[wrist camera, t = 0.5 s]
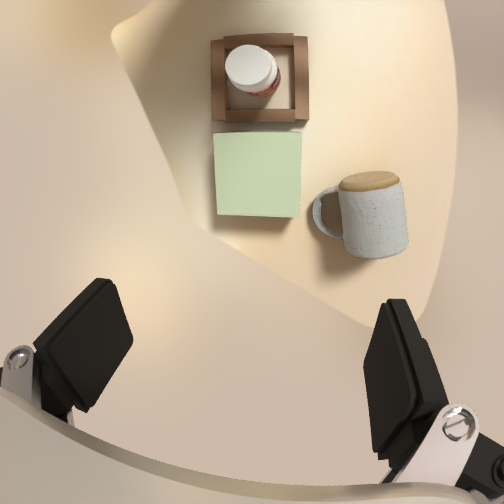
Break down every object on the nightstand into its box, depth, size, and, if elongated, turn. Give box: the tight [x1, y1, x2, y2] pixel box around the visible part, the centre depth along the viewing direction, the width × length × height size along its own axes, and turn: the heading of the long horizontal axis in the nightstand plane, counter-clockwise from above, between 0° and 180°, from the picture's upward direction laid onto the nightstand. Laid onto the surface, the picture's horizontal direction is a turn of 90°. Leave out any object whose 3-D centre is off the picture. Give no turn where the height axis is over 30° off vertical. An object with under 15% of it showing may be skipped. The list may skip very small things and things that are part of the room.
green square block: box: [213, 131, 302, 218], centre depth 31 cm, size 9×9×4 cm
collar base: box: [211, 33, 309, 123], centre depth 27 cm, size 11×11×1 cm
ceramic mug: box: [312, 171, 409, 259], centre depth 29 cm, size 11×8×8 cm
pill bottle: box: [225, 45, 281, 97], centre depth 24 cm, size 5×5×8 cm
